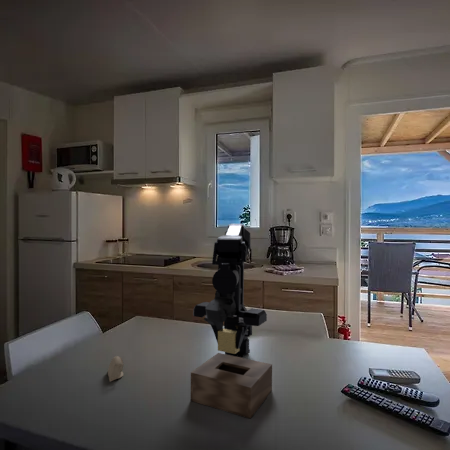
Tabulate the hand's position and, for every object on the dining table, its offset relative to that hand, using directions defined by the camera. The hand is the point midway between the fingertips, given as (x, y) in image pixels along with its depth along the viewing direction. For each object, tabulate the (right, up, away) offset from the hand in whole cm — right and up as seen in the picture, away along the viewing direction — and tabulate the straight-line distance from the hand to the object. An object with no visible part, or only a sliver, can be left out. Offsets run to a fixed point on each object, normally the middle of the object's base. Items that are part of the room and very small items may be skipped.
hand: (228, 346), depth 86 cm
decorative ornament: (-32, -12, +9) cm, 35 cm away
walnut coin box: (+1, -12, -2) cm, 12 cm away
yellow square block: (0, -1, 0) cm, 1 cm away
